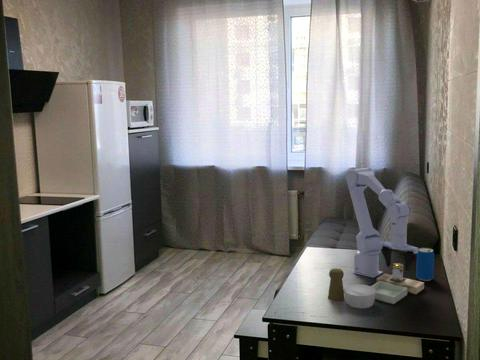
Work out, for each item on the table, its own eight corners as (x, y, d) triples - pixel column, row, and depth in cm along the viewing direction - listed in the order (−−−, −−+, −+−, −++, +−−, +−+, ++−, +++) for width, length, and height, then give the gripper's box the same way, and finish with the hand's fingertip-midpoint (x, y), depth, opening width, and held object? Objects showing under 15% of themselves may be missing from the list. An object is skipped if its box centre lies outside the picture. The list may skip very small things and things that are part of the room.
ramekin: (341, 307, 180) (341, 293, 179) (346, 296, 191) (346, 282, 190) (373, 312, 176) (374, 297, 175) (377, 299, 186) (378, 286, 186)
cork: (334, 302, 185) (334, 273, 183) (324, 297, 190) (324, 268, 188) (348, 299, 187) (348, 270, 185) (337, 293, 193) (337, 265, 191)
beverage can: (434, 282, 202) (435, 252, 200) (417, 281, 203) (418, 252, 201) (431, 276, 208) (432, 247, 206) (415, 275, 210) (416, 247, 208)
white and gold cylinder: (390, 286, 199) (390, 265, 197) (394, 283, 202) (395, 262, 200) (400, 288, 196) (400, 267, 195) (404, 285, 199) (405, 264, 198)
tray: (365, 296, 189) (365, 289, 189) (379, 287, 198) (379, 281, 197) (393, 304, 182) (393, 297, 182) (407, 294, 190) (407, 287, 190)
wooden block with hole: (376, 284, 201) (376, 278, 201) (384, 279, 206) (384, 273, 206) (416, 294, 190) (416, 287, 190) (423, 288, 196) (424, 282, 195)
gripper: (376, 232, 197) (375, 266, 200) (412, 239, 188) (411, 274, 190) (384, 229, 203) (384, 262, 205) (420, 234, 193) (419, 269, 195)
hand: (398, 268), depth 198 cm, fingers open, 7 cm apart
